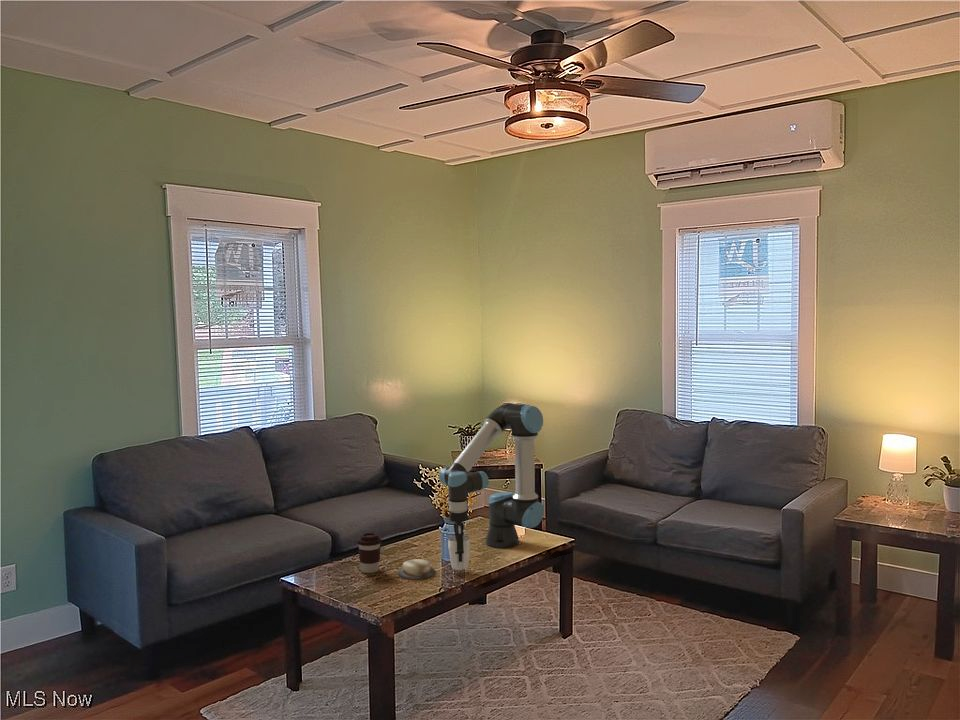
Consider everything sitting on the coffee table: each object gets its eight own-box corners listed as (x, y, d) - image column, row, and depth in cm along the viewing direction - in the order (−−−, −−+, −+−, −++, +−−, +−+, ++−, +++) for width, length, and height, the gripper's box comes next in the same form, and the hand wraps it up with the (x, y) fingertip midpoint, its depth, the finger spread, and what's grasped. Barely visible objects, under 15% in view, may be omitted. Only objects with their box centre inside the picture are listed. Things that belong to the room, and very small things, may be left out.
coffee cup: (385, 567, 328) (385, 532, 327) (376, 575, 318) (375, 539, 317) (363, 565, 330) (363, 530, 329) (353, 573, 321) (352, 537, 320)
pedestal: (423, 564, 331) (422, 555, 331) (442, 574, 319) (441, 564, 318) (391, 571, 323) (391, 562, 322) (409, 582, 310) (409, 572, 310)
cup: (445, 565, 323) (445, 536, 322) (466, 562, 326) (465, 533, 325) (452, 572, 315) (452, 543, 314) (474, 569, 318) (473, 540, 317)
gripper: (447, 503, 329) (449, 556, 331) (450, 518, 308) (451, 574, 310) (465, 502, 330) (467, 555, 332) (469, 517, 308) (470, 573, 310)
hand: (459, 564), depth 321 cm, fingers closed on cup, 9 cm apart
